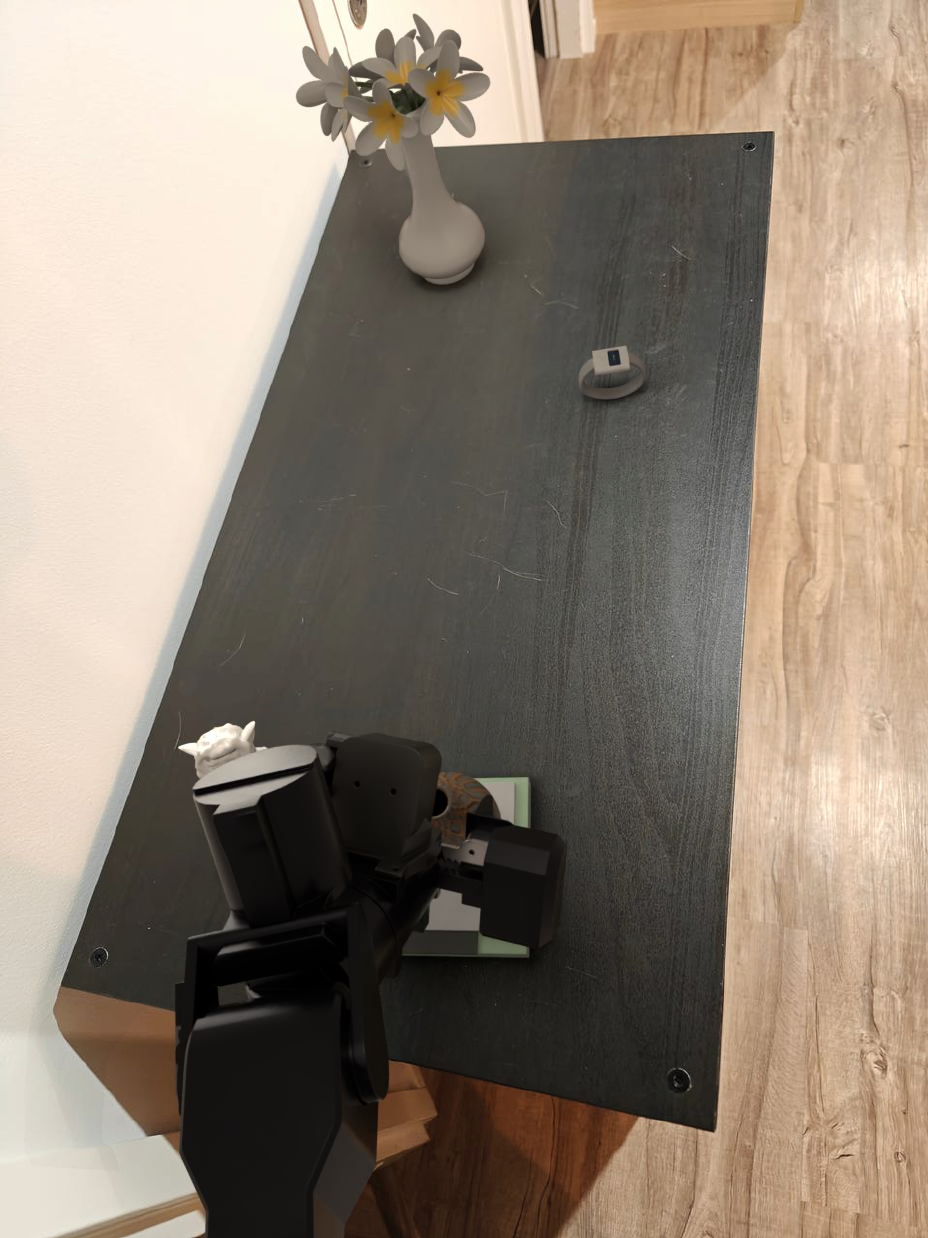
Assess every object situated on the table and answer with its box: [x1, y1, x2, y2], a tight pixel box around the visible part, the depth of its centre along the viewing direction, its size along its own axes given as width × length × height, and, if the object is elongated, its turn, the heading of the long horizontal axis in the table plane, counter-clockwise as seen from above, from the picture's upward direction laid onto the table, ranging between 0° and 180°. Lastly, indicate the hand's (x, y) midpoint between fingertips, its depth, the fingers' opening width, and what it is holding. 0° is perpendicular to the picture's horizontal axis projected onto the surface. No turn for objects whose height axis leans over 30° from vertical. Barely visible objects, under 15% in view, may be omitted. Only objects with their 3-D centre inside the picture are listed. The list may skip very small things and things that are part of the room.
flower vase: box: [295, 13, 491, 286], centre depth 92 cm, size 13×18×25 cm
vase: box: [430, 771, 501, 846], centre depth 62 cm, size 7×7×9 cm
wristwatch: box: [577, 345, 647, 400], centre depth 88 cm, size 6×3×5 cm, turn 92°
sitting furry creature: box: [178, 720, 268, 779], centre depth 72 cm, size 10×9×12 cm
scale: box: [402, 776, 532, 959], centre depth 71 cm, size 13×13×2 cm
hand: (446, 792), depth 61 cm, fingers closed on vase, 5 cm apart
